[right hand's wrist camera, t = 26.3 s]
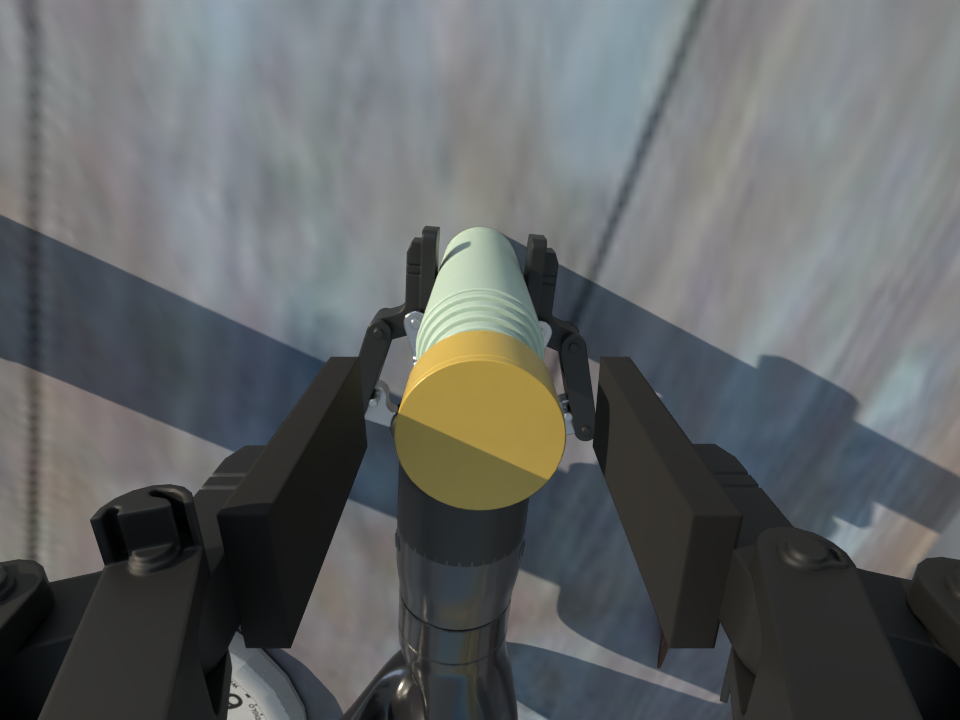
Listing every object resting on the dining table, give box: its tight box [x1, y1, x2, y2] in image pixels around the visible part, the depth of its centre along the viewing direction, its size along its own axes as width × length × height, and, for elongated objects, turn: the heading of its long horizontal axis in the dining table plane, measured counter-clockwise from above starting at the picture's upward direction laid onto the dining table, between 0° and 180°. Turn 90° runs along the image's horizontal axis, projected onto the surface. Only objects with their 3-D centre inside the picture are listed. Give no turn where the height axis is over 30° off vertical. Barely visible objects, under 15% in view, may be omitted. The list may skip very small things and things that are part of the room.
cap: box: [394, 330, 566, 510], centre depth 14 cm, size 4×4×2 cm
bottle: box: [416, 227, 544, 361], centre depth 23 cm, size 4×4×20 cm
